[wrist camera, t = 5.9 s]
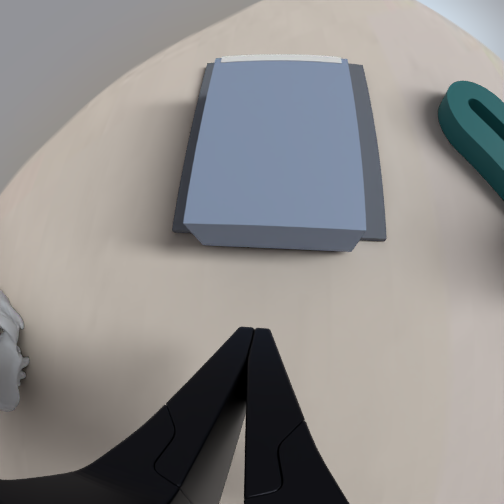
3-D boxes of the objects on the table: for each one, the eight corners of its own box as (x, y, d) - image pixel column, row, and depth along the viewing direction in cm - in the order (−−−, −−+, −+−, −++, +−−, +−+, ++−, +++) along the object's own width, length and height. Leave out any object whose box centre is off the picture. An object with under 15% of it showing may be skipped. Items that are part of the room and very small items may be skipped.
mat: (384, 241, 17) (386, 238, 16) (174, 232, 18) (172, 230, 18) (361, 68, 20) (362, 65, 20) (208, 66, 22) (207, 63, 21)
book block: (366, 230, 13) (347, 57, 16) (182, 222, 14) (215, 57, 17) (351, 252, 16) (341, 95, 19) (203, 245, 17) (225, 93, 20)
